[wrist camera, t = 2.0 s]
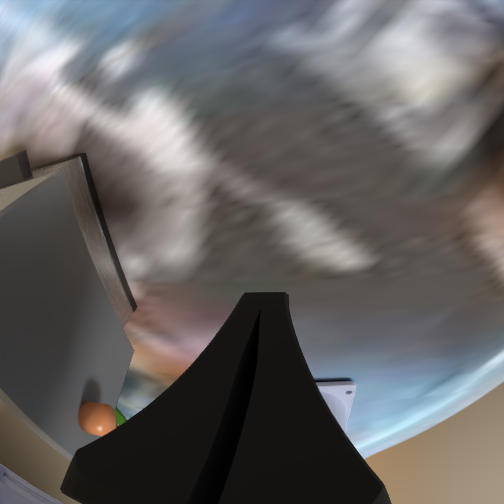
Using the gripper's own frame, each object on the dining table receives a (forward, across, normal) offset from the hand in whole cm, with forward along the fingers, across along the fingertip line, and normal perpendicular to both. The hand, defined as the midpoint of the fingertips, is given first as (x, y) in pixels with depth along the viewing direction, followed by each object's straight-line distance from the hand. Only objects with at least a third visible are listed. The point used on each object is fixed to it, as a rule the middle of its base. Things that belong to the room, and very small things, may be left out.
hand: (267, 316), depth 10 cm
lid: (-1, +9, 0) cm, 9 cm away
